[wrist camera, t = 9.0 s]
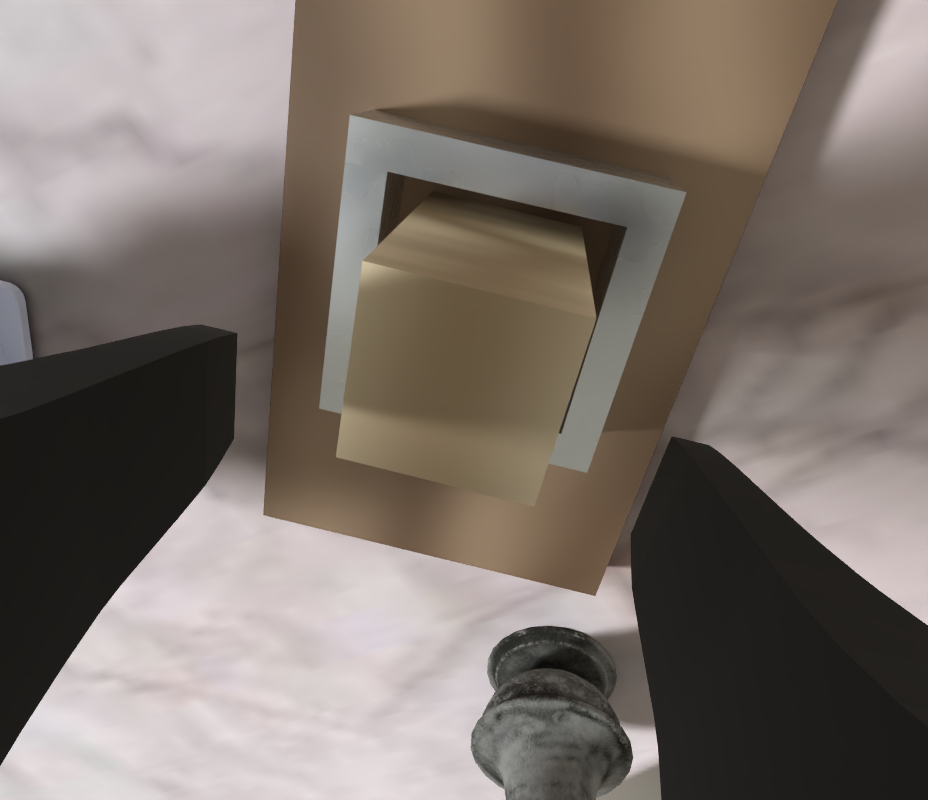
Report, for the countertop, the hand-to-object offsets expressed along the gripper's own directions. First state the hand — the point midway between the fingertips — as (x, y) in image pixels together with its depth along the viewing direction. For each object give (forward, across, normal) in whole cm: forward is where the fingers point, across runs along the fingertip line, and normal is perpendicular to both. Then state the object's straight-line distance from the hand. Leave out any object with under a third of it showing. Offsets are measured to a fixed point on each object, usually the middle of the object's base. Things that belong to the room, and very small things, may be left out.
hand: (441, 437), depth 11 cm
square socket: (+8, 0, 0) cm, 8 cm away
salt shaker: (+10, -6, +16) cm, 20 cm away
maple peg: (+8, 0, 0) cm, 8 cm away
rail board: (+10, 0, 0) cm, 10 cm away
